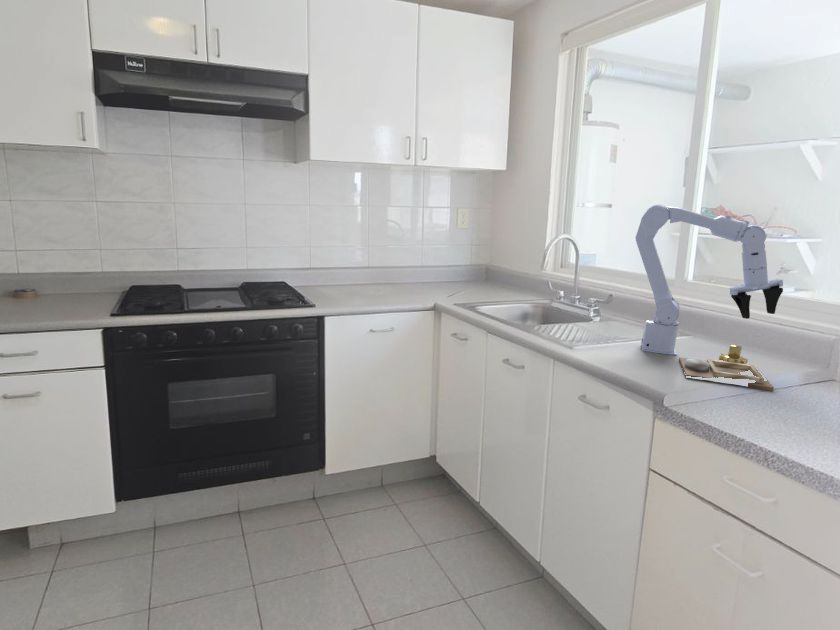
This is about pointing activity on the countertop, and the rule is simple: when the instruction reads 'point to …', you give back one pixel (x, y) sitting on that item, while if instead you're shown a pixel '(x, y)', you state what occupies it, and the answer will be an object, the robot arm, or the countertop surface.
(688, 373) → the carrier board
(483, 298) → the countertop surface
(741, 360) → the planet gear
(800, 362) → the countertop surface
